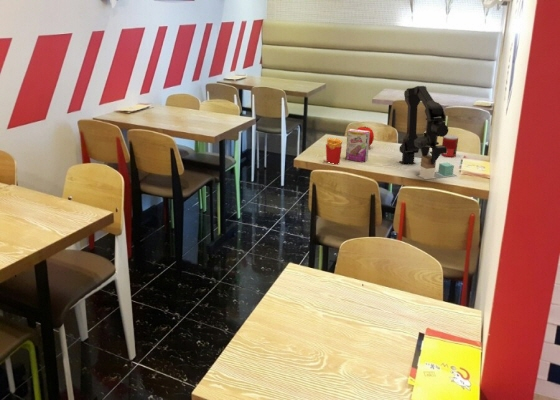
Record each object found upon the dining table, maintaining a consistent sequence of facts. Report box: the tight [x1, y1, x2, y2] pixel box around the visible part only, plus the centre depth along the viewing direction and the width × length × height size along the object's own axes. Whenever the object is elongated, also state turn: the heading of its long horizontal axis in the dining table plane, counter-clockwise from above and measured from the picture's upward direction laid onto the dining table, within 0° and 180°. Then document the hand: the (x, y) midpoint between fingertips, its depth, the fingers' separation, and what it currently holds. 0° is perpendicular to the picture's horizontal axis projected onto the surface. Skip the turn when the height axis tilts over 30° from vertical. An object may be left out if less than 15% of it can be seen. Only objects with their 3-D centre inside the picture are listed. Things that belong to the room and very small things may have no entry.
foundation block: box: [419, 166, 436, 179], centre depth 263 cm, size 5×5×5 cm
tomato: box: [356, 126, 375, 147], centre depth 310 cm, size 11×11×13 cm
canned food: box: [440, 134, 459, 158], centre depth 298 cm, size 8×8×11 cm
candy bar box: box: [345, 128, 370, 163], centre depth 287 cm, size 11×5×16 cm, turn 65°
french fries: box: [325, 137, 343, 165], centre depth 283 cm, size 9×4×13 cm, turn 51°
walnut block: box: [420, 154, 437, 169], centre depth 262 cm, size 5×5×5 cm
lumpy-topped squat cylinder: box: [414, 148, 431, 159], centre depth 300 cm, size 10×13×9 cm
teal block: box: [437, 162, 455, 176], centre depth 267 cm, size 5×5×5 cm
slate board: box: [415, 171, 457, 181], centre depth 266 cm, size 9×19×1 cm, turn 111°
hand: (428, 162), depth 262 cm, fingers open, 6 cm apart
